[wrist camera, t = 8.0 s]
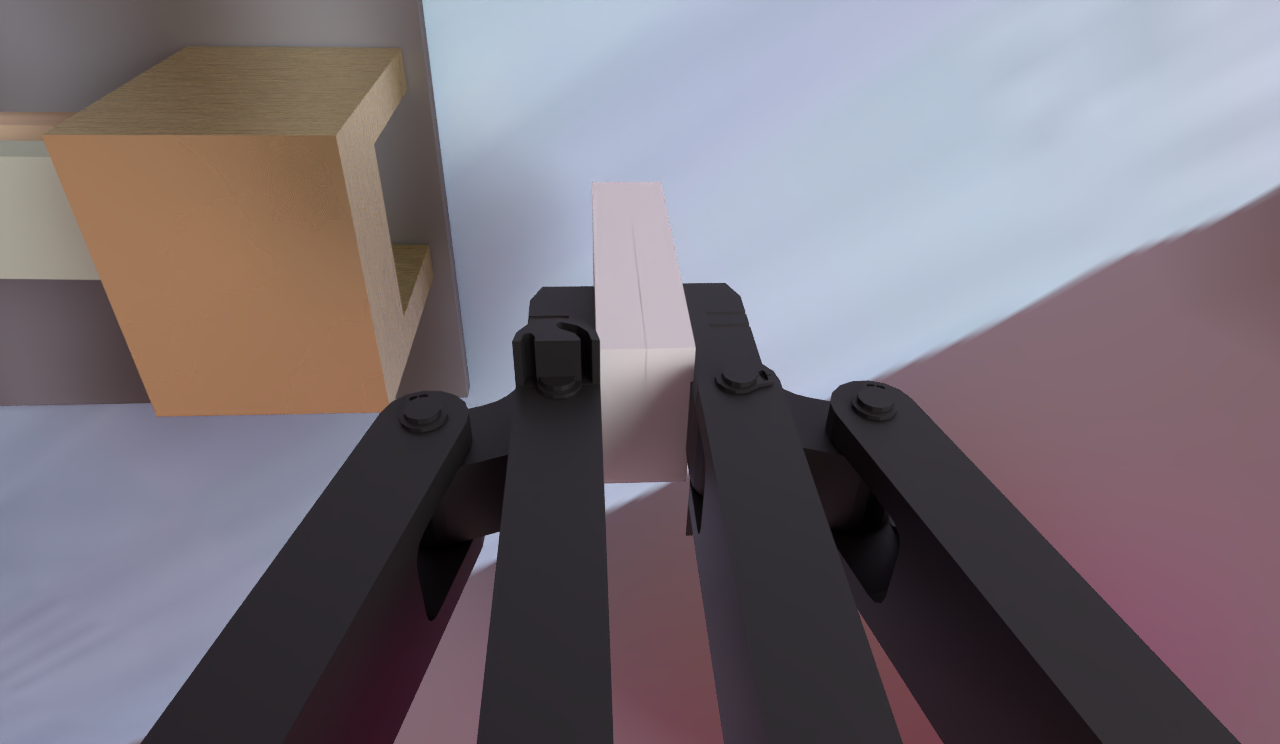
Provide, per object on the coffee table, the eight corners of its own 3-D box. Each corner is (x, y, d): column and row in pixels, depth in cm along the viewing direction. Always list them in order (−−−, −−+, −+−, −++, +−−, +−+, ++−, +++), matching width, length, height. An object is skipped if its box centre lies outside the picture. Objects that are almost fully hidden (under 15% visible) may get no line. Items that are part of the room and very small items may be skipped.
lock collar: (253, 277, 23) (157, 416, 18) (186, 46, 19) (41, 135, 14) (433, 276, 23) (390, 412, 18) (401, 47, 19) (336, 135, 14)
